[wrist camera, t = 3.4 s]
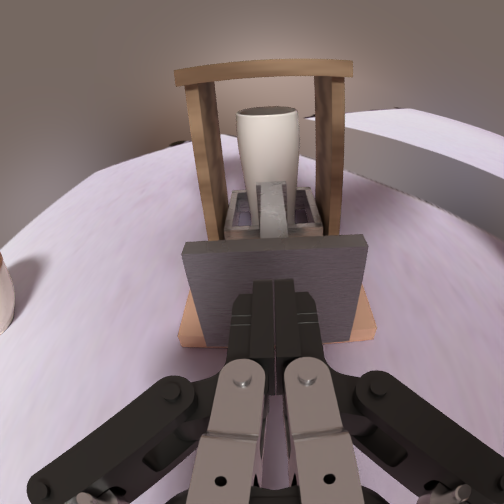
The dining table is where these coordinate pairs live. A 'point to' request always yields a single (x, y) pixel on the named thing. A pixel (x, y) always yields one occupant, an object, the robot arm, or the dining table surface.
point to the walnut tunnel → (209, 141)
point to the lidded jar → (6, 297)
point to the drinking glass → (269, 152)
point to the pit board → (194, 337)
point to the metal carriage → (276, 264)
